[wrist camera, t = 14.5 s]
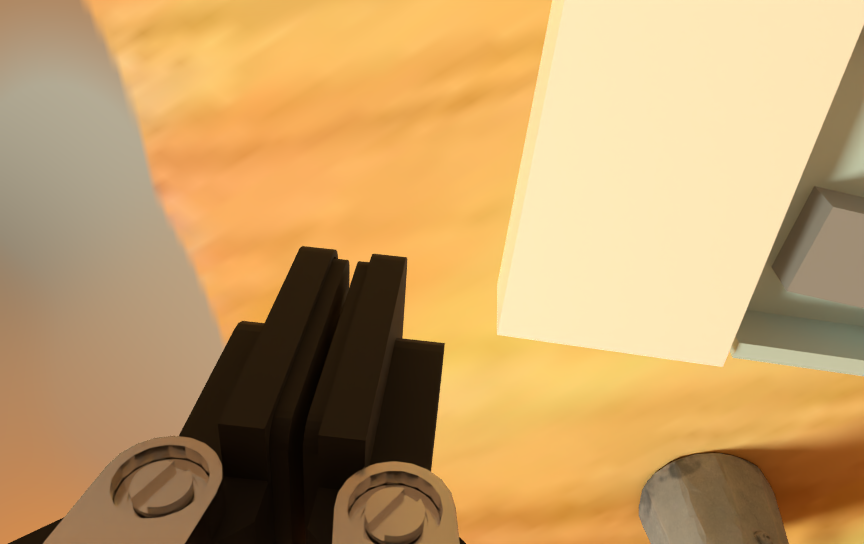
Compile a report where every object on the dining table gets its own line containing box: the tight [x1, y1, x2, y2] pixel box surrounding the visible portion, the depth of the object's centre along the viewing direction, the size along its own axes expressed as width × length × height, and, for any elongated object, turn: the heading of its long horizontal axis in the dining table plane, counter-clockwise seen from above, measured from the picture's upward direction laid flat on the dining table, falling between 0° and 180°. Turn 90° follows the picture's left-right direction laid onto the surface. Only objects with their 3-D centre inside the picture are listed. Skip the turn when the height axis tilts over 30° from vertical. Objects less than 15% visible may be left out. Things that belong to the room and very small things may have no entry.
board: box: [497, 0, 864, 367], centre depth 34 cm, size 26×12×5 cm, turn 173°
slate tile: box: [772, 186, 864, 308], centre depth 38 cm, size 5×5×2 cm
